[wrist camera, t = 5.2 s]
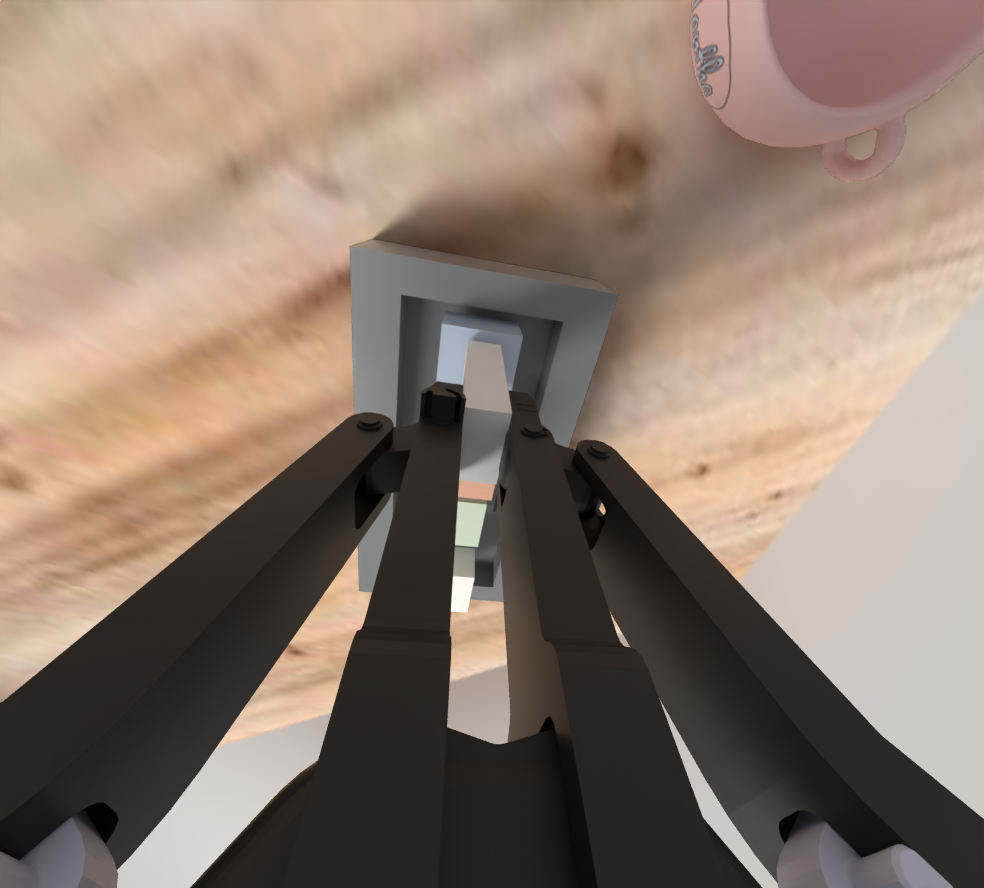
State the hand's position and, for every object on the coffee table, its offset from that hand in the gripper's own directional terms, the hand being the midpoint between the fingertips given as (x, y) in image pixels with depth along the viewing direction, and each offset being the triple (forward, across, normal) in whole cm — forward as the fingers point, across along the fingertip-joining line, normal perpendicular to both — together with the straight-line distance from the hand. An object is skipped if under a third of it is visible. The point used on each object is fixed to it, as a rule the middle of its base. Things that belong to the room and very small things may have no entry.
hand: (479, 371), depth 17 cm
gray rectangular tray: (+6, 0, -8) cm, 9 cm away
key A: (+3, 0, 0) cm, 3 cm away
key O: (+2, 0, -15) cm, 15 cm away
